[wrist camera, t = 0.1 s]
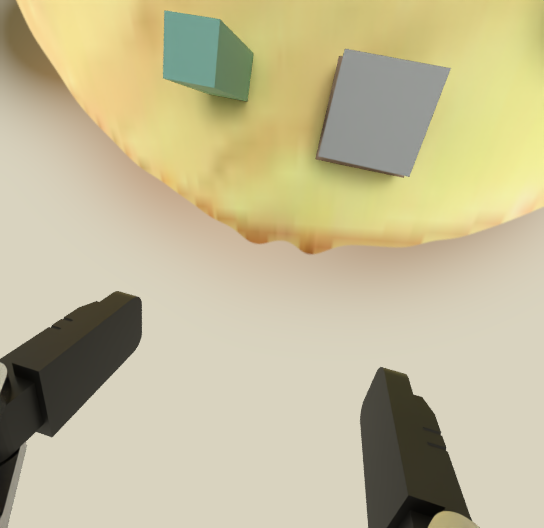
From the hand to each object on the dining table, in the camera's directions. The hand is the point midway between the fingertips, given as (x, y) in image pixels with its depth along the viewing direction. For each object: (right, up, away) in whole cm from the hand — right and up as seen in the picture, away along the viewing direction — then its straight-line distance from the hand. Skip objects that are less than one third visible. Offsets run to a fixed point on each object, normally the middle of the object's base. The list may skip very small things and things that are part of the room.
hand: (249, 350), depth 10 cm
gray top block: (+10, +17, +18) cm, 27 cm away
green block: (-4, +24, +23) cm, 34 cm away
